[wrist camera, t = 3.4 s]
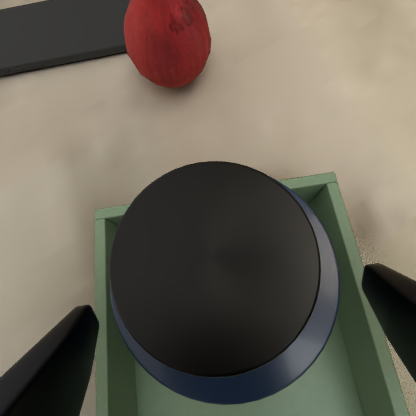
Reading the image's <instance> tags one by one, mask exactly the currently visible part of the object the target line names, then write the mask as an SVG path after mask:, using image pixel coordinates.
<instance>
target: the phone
mask: <svg viewBox="0 0 416 416" xmlns="http://www.w3.org/2000/svg"><path fill="white" fill-rule="evenodd" d="M129 2H130V0H47V1H42V2H37V3H32V4H27V5H22V6H17V7H11V8H6V9H1V10H0V76H2V75H7V74H12V73H17V72H23V71H28V70H33V69H38V68H44V67H49V66H54V65H59V64H64V63H70V62H75V61H80V60H85V59H91V58H96V57H101V56H106V55H112V54H117V53H122V52H127V48H126V44H125V36H124V19H125V14H126V11H127V8H128V5H129Z"/></svg>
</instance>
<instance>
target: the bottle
mask: <svg viewBox="0 0 416 416" xmlns="http://www.w3.org/2000/svg"><path fill="white" fill-rule="evenodd" d="M109 276H110V293H111V303H112V308H113V313H114V317H115V320H116V323H117V326H118V329H119V332H120V334H121V336H122V338H123V340H124V342H125V344H126V346H127V348H128V349H129V350H130V352H131V353H132V355H133V356H134V358H135V359H136V361H137V362H138V363H139V364H140V365H141V366H142V367H143V368H144V369H145V370H146V372H147V373H148V374H150V375H151V376H152V377H153V378H154V379H156V380H157V381H158V382H159V383H160V384H162V385H164V386H165V387H167V388H169V389H170V390H172V391H174V392H175V393H178V394H180V395H182V396H185V397H187V398H189V399H192V400H196V401H200V402H204V403H209V404H219V405H234V404H244V403H249V402H254V401H258V400H261V399H263V398H266V397H269V396H271V395H274V394H276V393H277V392H279V391H281V390H283V389H285V388H286V387H288V386H290V385H291V384H292V383H293V382H295V381H296V380H297V379H298V378H300V377H301V376H302V375H303V374H304V373H305V372H306V371H307V370H308V369H309V368H310V367H311V366H312V365H313V363H314V362H315V361H316V359H317V358H318V356H319V355H320V354H321V352H322V351H323V349H324V347H325V345H326V343H327V341H328V339H329V337H330V335H331V333H332V330H333V327H334V324H335V321H336V318H337V312H338V307H339V300H340V277H339V268H338V263H337V258H336V254H335V251H334V248H333V245H332V243H331V240H330V238H329V236H328V234H327V232H326V230H325V228H324V226H323V224H322V223H321V221H320V220H319V218H318V217H317V215H316V214H315V212H314V211H313V210H312V209H311V208H310V207H309V205H308V204H307V203H306V202H305V201H304V200H303V199H302V198H301V197H300V196H298V195H297V194H296V193H295V192H294V191H292V190H291V189H290V188H288V187H287V186H285V185H284V184H282V183H281V182H279V181H277V180H275V179H273V178H271V177H269V176H267V175H266V174H264V173H262V172H260V171H258V170H255V169H253V168H250V167H248V166H244V165H240V164H236V163H230V162H223V161H209V162H199V163H194V164H190V165H186V166H183V167H180V168H177V169H174V170H172V171H170V172H168V173H166V174H164V175H163V176H161V177H160V178H158V179H156V180H155V181H153V182H152V183H151V184H150V185H149V186H147V187H146V188H145V189H144V190H143V191H142V192H141V193H140V194H139V195H138V196H137V197H136V198H135V199H134V201H133V202H132V203H131V205H130V206H129V207H128V209H127V210H126V212H125V214H124V215H123V217H122V219H121V221H120V223H119V225H118V228H117V230H116V232H115V236H114V239H113V243H112V247H111V253H110V262H109Z"/></svg>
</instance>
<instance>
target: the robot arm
mask: <svg viewBox="0 0 416 416" xmlns="http://www.w3.org/2000/svg"><path fill="white" fill-rule="evenodd" d="M361 286H362V290H363V292H364V294H365V296H366V298H367V300H368V302H369V304H370V306H371V308H372V310H373V312H374V314H375V316H376V318H377V320H378V322H379V324H380V325H381V327H382V329H383V331H384V333H385V335H386V337H387V338H388V340H389V342H390V343H391V345H392V346H393V348H394V350H395V351H396V353H397V354H398V356H399V357H400V359H401V360H402V362H403V364H404V365H405V367H406V368H407V370H408V371H409V373H410V374H411V376H412V377H413V379H414V381H415V382H416V281H414V280H412V279H410V278H408V277H406V276H404V275H402V274H400V273H398V272H396V271H394V270H392V269H390V268H388V267H386V266H384V265H382V264H379V263H375V264H368V265H366V266H365V267H364V270H363V276H362V282H361ZM98 332H99V321H98V319H97V317H96V315H95V313H94V311H93V309H92V307H91V306H90V305H83V306H78V307H76V308H74V309H73V310H72V311H71V312H70V313H69V314H68V315H67V316H66V317H65V318H64V319H62V320H61V321H60V322H59V323H58V324H57V325H56V326H55V327H54V328H53V329H52V330H51V331H50V332H49V333H47V334H46V335H45V336H44V337H43V338H42V339H41V340H40V341H39V342H38V343H37V344H36V345H35V346H34V347H33V348H31V349H30V350H29V351H28V352H27V353H26V354H25V355H24V356H23V357H22V358H21V359H20V360H19V361H18V362H16V363H15V364H14V365H13V366H12V367H11V368H10V369H9V370H8V371H7V372H6V373H5V374H4V375H3V376H1V377H0V416H79V414H80V411H81V407H82V404H83V400H84V397H85V393H86V390H87V386H88V383H89V379H90V375H91V370H92V365H93V360H94V354H95V349H96V343H97V338H98Z"/></svg>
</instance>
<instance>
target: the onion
mask: <svg viewBox="0 0 416 416" xmlns="http://www.w3.org/2000/svg"><path fill="white" fill-rule="evenodd" d="M124 36H125V44H126V48H127V52H128V55H129V57H130V58H131V60H132V61H133V63H134V65H135V66H136V68H137V69H138V71H139V72H140V74H141V75H143V76H144V77H146V78H147V79H149V80H150V81H152V82H154V83H155V84H157V85H160V86H165V87H170V88H172V87H182V86H184V85H186V84H188V83H190V82H191V81H193V80H194V79H195V78H196V77H197V76H198V75H199V74H200V73H201V72H202V70H203V68H204V66H205V64H206V61H207V59H208V56H209V54H210V49H211V37H210V32H209V28H208V23H207V19H206V15H205V12H204V10H203V8H202V6H201V5H200V3H199V2H198V1H197V0H130V2H129V5H128V8H127V11H126V14H125V19H124Z"/></svg>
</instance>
